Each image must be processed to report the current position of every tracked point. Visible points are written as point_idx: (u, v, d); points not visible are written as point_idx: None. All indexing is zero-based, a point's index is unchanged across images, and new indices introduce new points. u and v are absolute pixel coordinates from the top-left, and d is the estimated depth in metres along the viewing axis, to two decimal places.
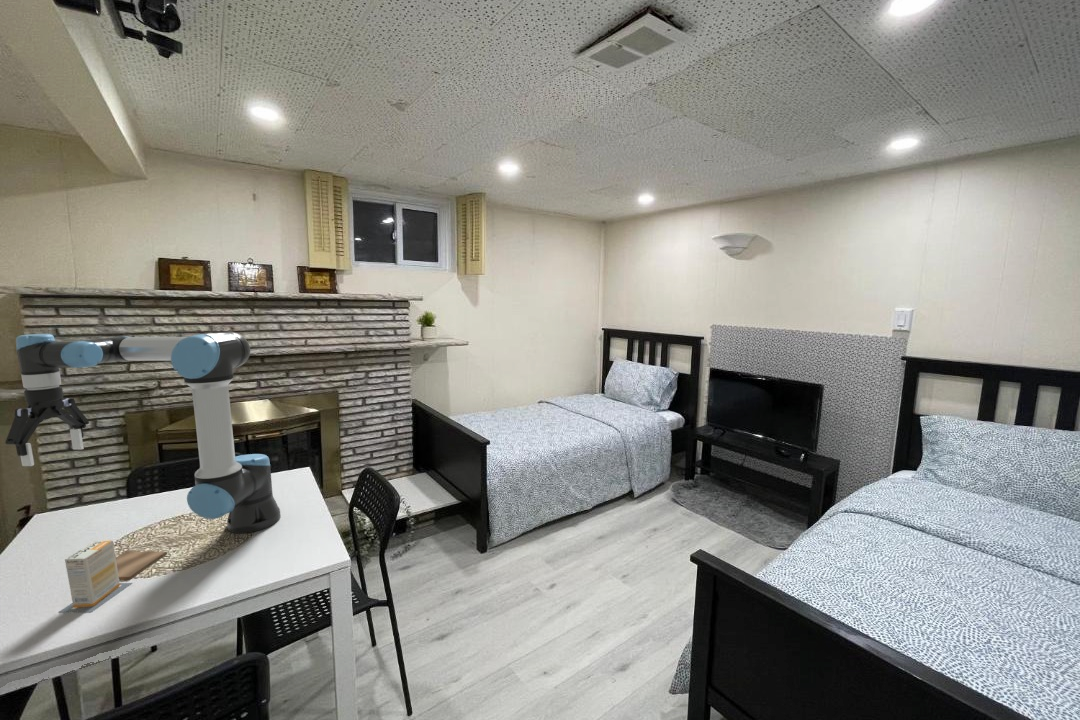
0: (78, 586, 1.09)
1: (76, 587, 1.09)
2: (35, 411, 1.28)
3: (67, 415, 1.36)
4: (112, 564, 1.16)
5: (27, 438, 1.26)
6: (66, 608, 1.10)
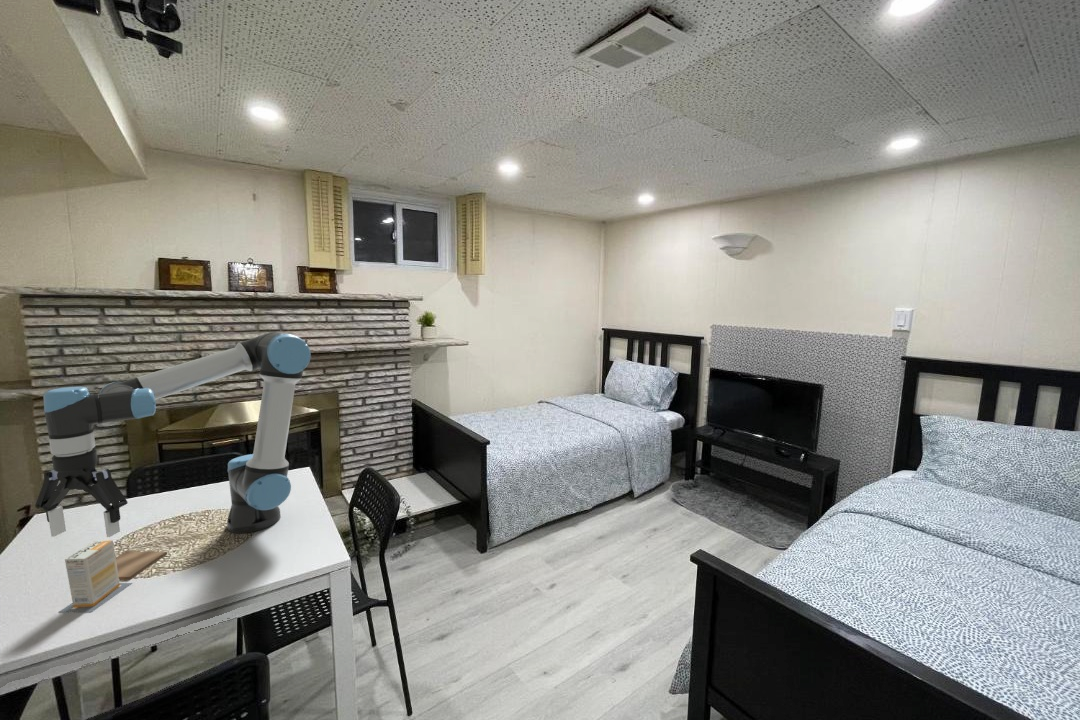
0: (78, 586, 1.09)
1: (76, 587, 1.09)
2: (58, 477, 1.08)
3: (91, 491, 1.08)
4: (112, 564, 1.16)
5: (48, 505, 1.09)
6: (66, 608, 1.10)
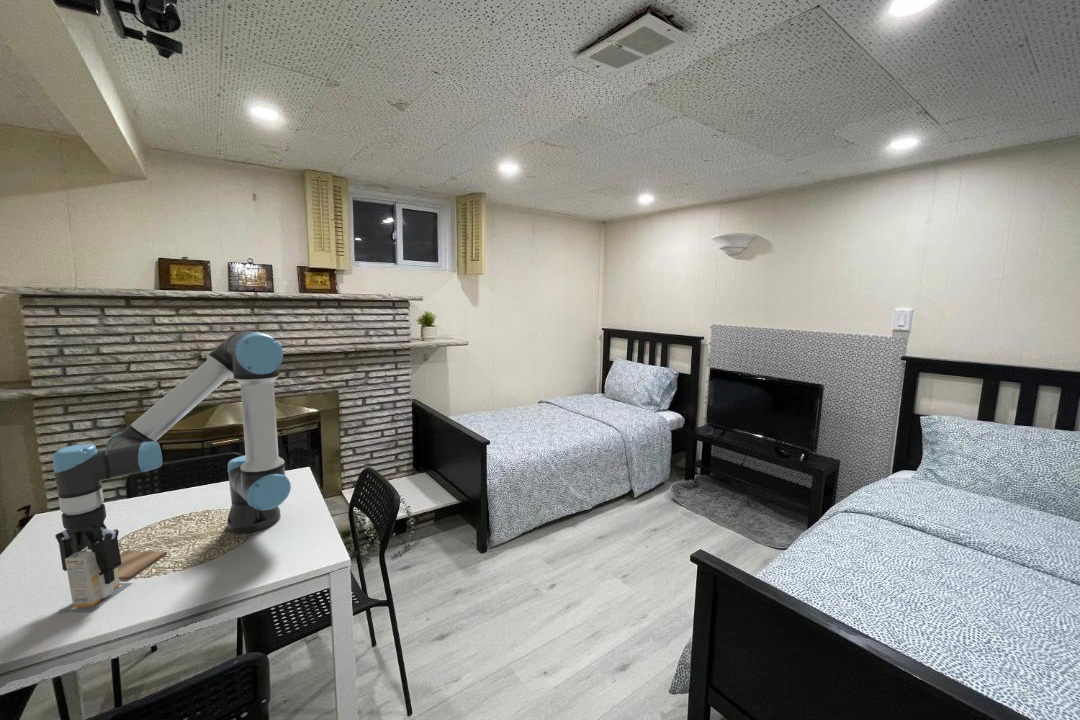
0: (78, 586, 1.09)
1: (76, 587, 1.09)
2: (69, 534, 1.10)
3: (94, 550, 1.11)
4: None
5: None
6: (66, 608, 1.10)
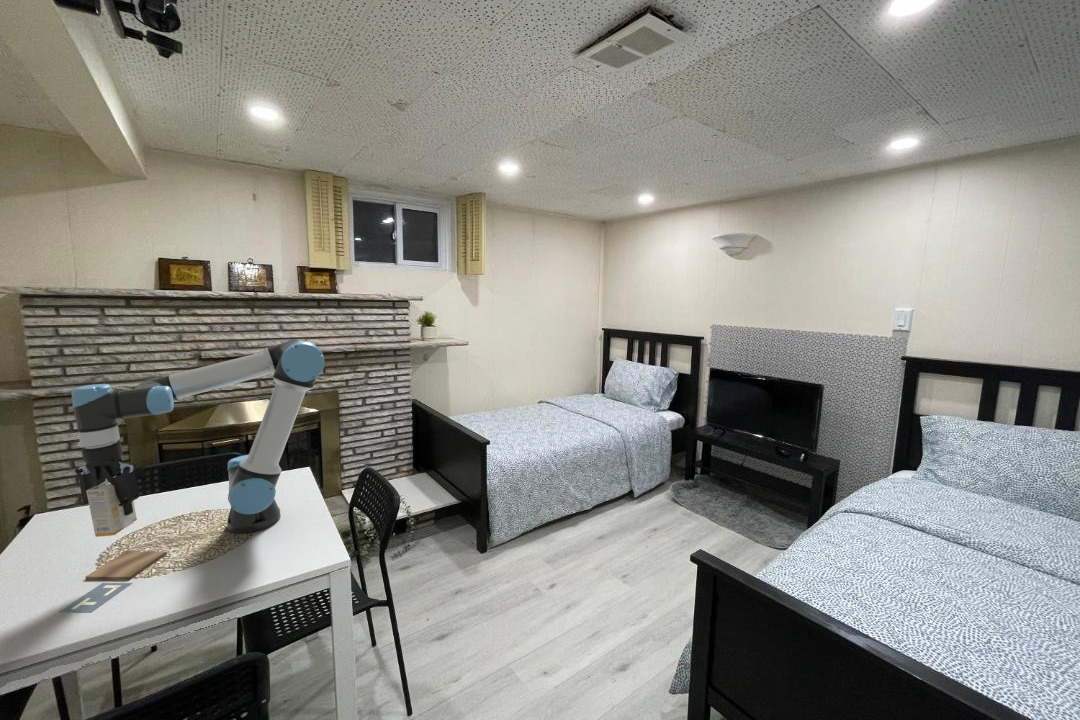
0: (100, 516, 1.16)
1: (98, 517, 1.16)
2: (88, 469, 1.17)
3: (113, 483, 1.18)
4: None
5: None
6: (66, 608, 1.10)
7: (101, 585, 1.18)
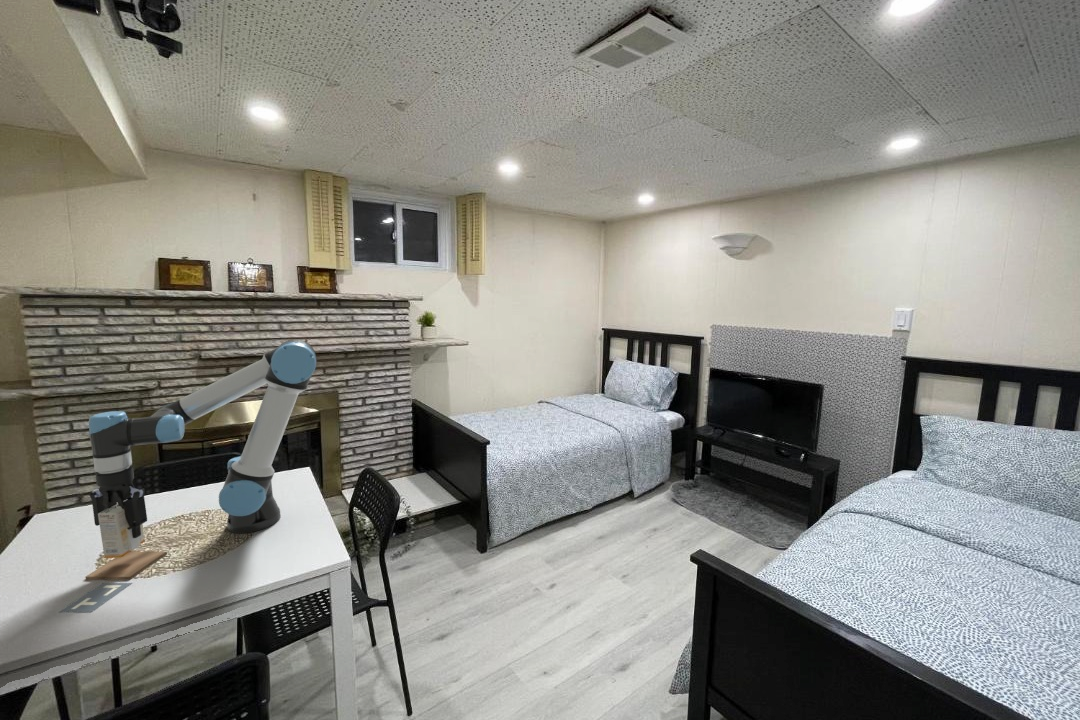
0: (109, 538, 1.21)
1: (107, 540, 1.21)
2: (101, 492, 1.23)
3: (124, 507, 1.23)
4: None
5: None
6: (66, 608, 1.10)
7: (101, 585, 1.18)
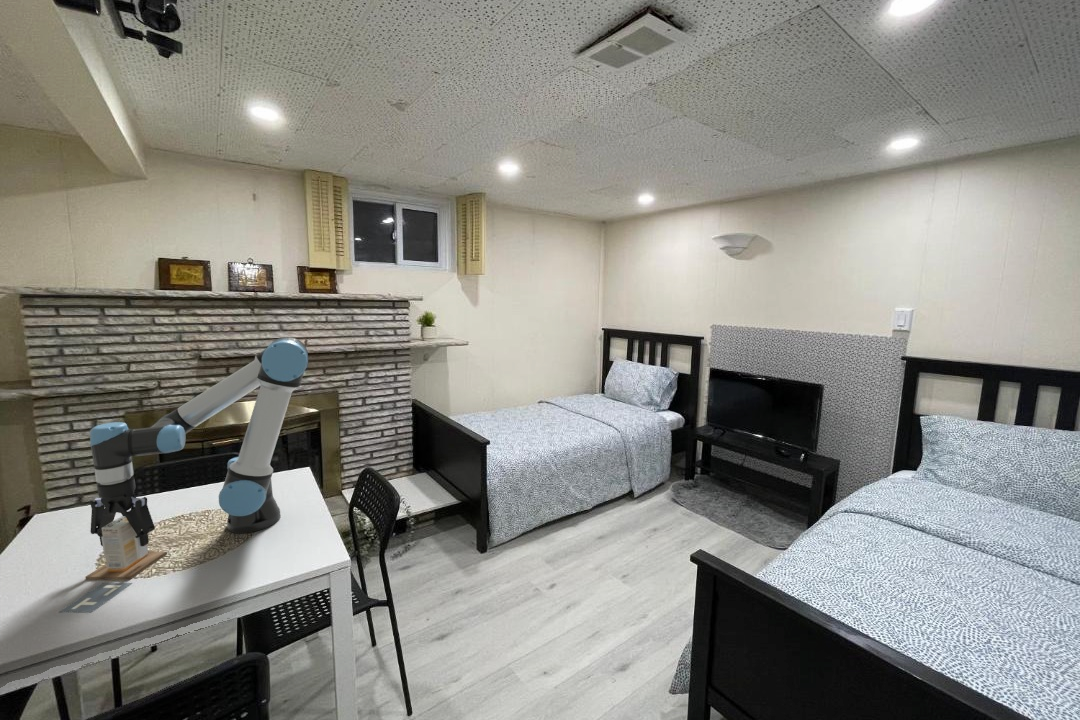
0: (113, 552, 1.22)
1: (110, 554, 1.22)
2: (102, 503, 1.23)
3: (128, 516, 1.23)
4: None
5: (101, 530, 1.24)
6: (66, 608, 1.10)
7: (101, 585, 1.18)
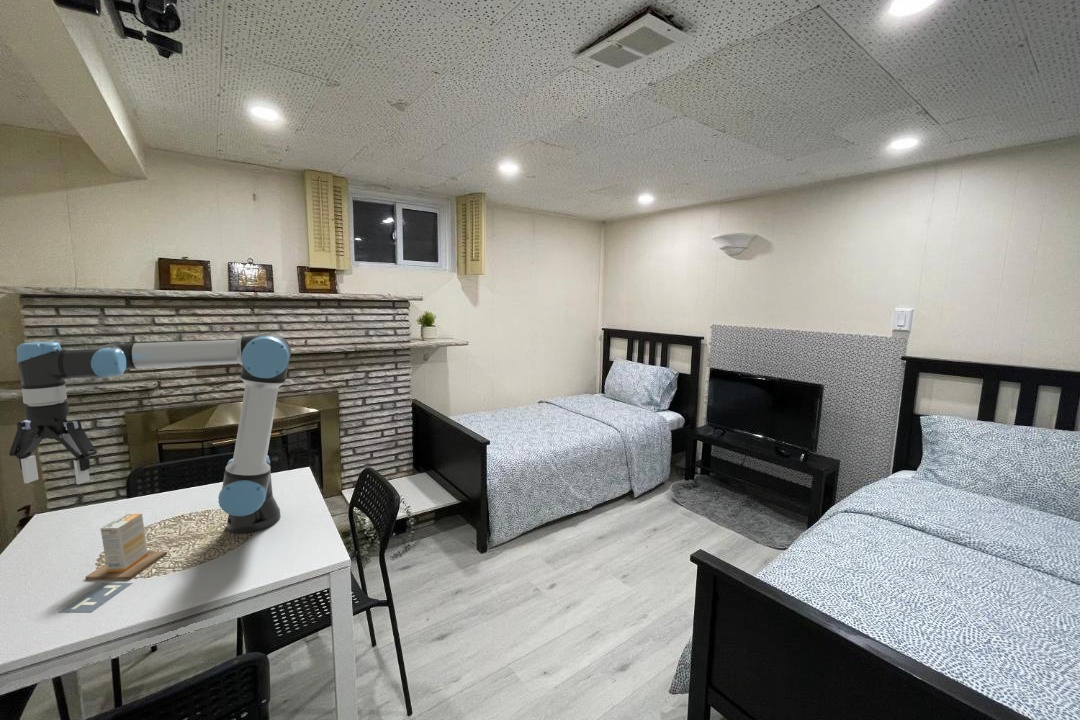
0: (112, 552, 1.22)
1: (110, 554, 1.22)
2: (30, 427, 1.15)
3: (62, 440, 1.15)
4: (141, 535, 1.29)
5: (21, 453, 1.15)
6: (66, 608, 1.10)
7: (101, 585, 1.18)
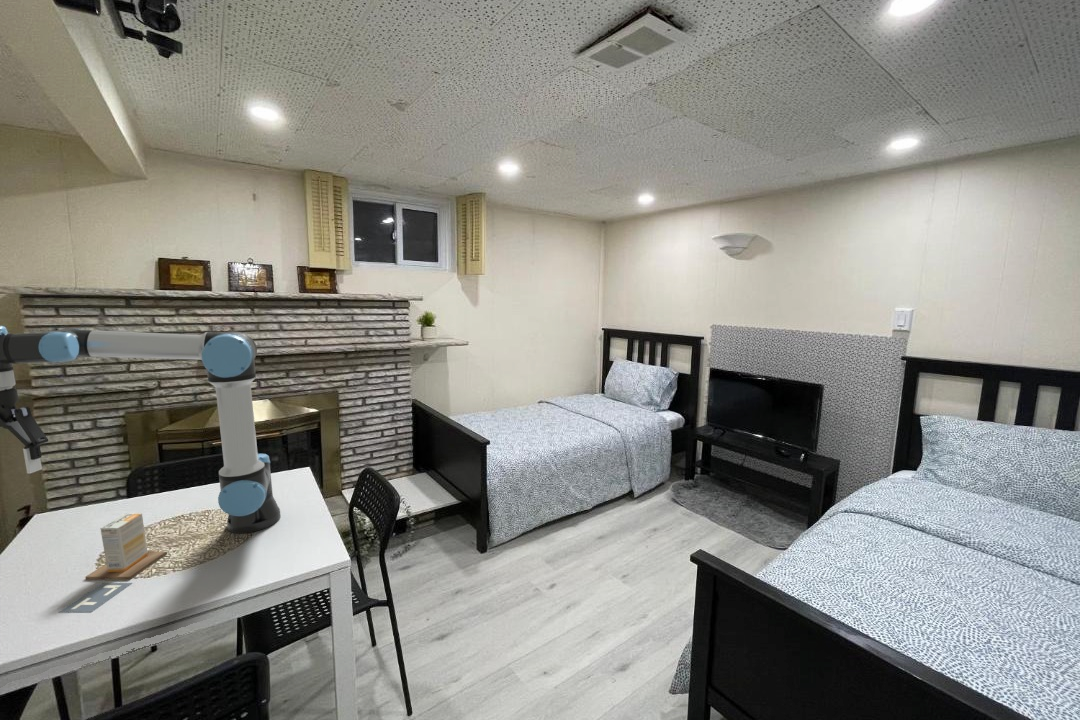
0: (112, 552, 1.22)
1: (110, 554, 1.22)
2: None
3: (10, 428, 1.10)
4: (141, 535, 1.29)
5: None
6: (66, 608, 1.10)
7: (101, 585, 1.18)
